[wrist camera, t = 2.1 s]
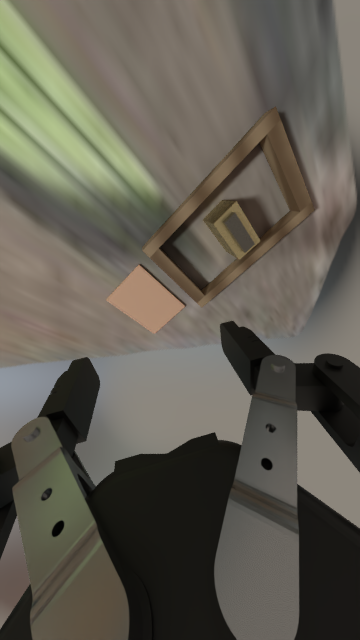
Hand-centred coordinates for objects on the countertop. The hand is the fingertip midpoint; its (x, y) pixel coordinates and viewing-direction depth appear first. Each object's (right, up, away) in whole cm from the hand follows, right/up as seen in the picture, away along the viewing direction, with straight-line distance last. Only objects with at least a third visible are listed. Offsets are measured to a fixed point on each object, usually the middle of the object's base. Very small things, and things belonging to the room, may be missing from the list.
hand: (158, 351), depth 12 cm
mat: (-5, +5, +26) cm, 27 cm away
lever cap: (+9, +18, +21) cm, 29 cm away
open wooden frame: (+9, +17, +21) cm, 28 cm away
